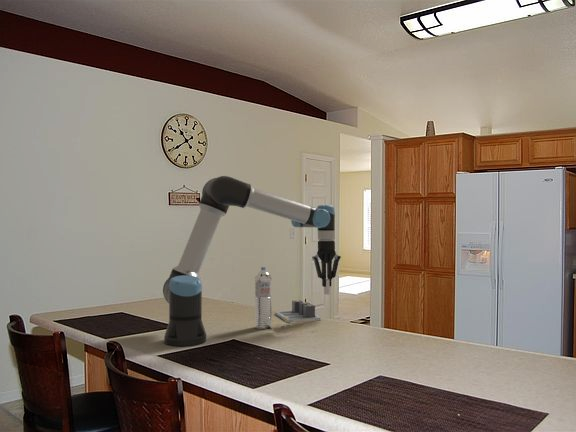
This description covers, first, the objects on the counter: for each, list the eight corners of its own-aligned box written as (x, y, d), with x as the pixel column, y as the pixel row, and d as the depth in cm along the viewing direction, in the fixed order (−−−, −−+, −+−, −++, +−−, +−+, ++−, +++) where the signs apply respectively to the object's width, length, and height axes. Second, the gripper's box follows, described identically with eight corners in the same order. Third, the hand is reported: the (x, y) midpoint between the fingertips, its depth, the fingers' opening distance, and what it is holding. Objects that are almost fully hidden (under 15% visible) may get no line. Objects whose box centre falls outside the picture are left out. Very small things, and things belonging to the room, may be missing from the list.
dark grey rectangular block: (315, 319, 214) (315, 305, 214) (306, 320, 213) (306, 306, 213) (311, 318, 218) (311, 304, 218) (303, 318, 217) (303, 304, 217)
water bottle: (272, 326, 208) (272, 266, 209) (270, 329, 202) (270, 268, 202) (256, 325, 209) (256, 266, 209) (253, 329, 202) (253, 268, 202)
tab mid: (310, 317, 220) (310, 303, 220) (301, 317, 219) (301, 303, 219) (307, 315, 224) (307, 301, 224) (298, 316, 222) (298, 302, 223)
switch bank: (320, 323, 213) (320, 317, 213) (287, 325, 209) (287, 319, 209) (305, 315, 231) (305, 309, 231) (275, 317, 227) (275, 311, 227)
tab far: (303, 314, 225) (303, 301, 225) (294, 315, 224) (294, 301, 224) (300, 313, 229) (300, 300, 229) (292, 313, 228) (292, 300, 228)
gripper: (336, 239, 224) (337, 292, 224) (309, 240, 220) (310, 293, 220) (343, 240, 216) (344, 294, 216) (315, 241, 213) (315, 296, 212)
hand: (326, 294), depth 218 cm, fingers closed
